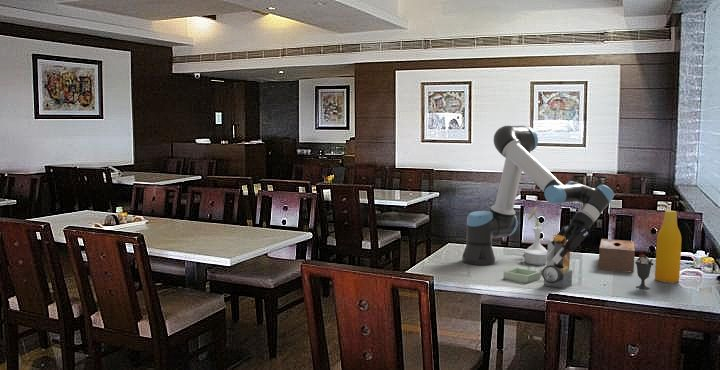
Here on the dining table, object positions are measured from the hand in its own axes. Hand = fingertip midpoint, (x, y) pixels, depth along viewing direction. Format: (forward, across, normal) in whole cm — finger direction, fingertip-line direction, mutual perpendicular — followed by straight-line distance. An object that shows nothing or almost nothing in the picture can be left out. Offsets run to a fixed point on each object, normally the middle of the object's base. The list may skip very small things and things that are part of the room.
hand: (550, 260), depth 246 cm
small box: (-10, +24, -25) cm, 36 cm away
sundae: (-16, -15, -31) cm, 38 cm away
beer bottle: (-30, -9, -45) cm, 55 cm away
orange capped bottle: (0, 0, -6) cm, 6 cm away
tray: (+9, +14, -5) cm, 18 cm away
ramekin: (-9, +38, -24) cm, 46 cm away
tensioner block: (+6, -1, -9) cm, 10 cm away
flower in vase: (-16, +50, -31) cm, 61 cm away
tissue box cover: (-32, +21, -47) cm, 61 cm away
